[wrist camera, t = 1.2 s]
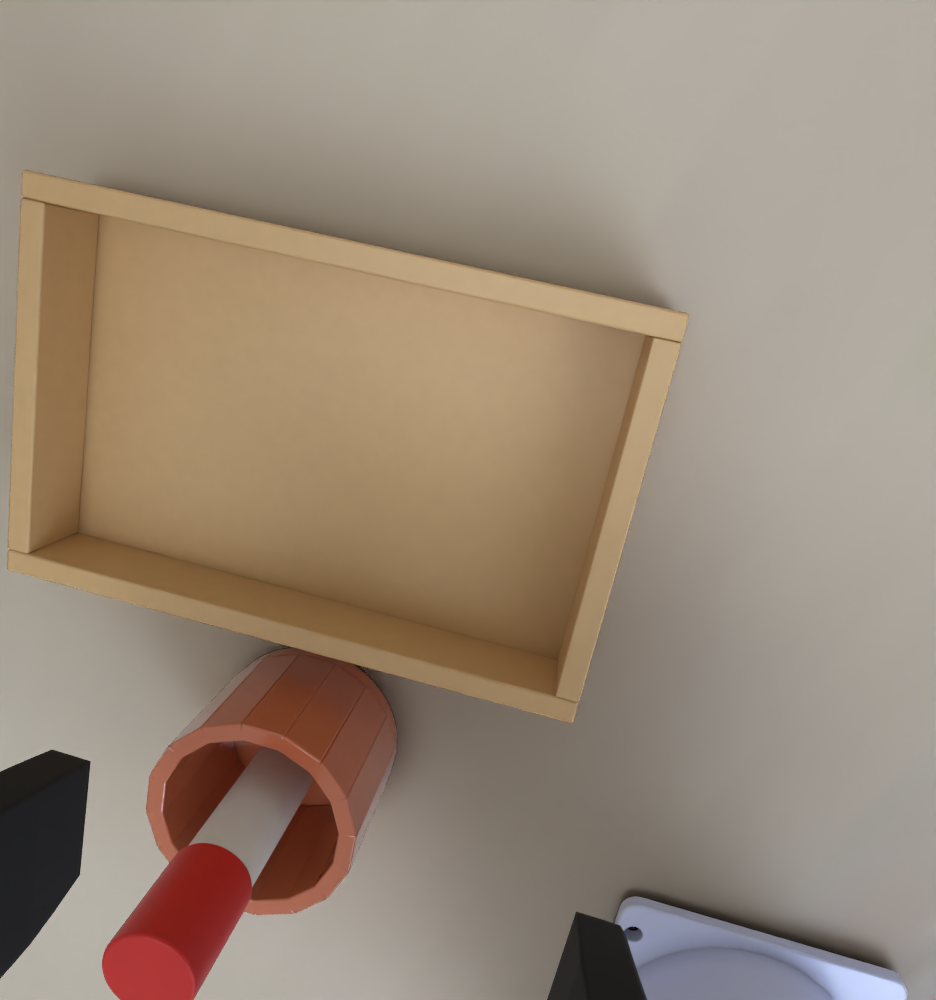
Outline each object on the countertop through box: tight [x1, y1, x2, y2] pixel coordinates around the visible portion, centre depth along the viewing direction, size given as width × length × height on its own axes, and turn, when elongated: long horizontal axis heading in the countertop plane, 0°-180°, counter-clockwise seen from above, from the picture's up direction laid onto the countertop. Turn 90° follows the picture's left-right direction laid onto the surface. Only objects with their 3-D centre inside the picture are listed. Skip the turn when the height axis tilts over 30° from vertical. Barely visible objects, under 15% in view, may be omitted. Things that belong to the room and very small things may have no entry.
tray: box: [7, 170, 689, 723], centre depth 18 cm, size 10×15×2 cm, turn 78°
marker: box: [102, 746, 314, 1000], centre depth 18 cm, size 2×2×8 cm
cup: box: [146, 648, 397, 915], centre depth 20 cm, size 5×5×4 cm
